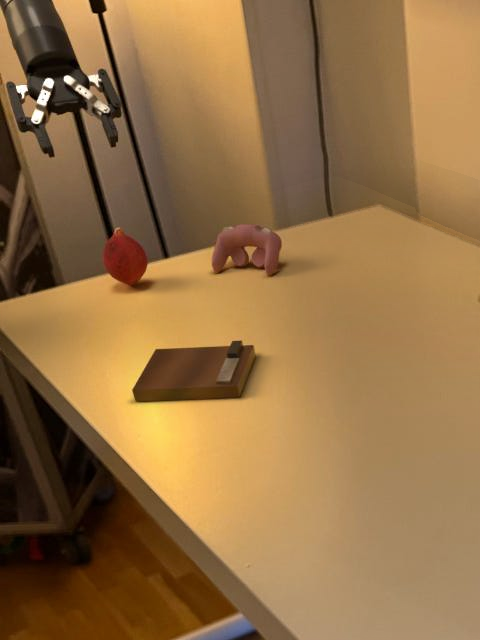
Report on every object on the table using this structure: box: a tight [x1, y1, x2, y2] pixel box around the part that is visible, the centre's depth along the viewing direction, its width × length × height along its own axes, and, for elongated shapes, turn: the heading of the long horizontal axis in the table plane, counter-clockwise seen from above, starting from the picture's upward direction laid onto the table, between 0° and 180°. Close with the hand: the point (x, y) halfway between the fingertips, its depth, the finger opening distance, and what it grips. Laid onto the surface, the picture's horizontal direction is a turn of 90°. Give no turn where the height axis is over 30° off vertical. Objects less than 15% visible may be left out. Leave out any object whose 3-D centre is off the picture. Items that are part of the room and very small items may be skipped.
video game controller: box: [211, 223, 283, 276], centre depth 142 cm, size 10×5×7 cm, turn 76°
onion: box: [102, 227, 149, 287], centre depth 137 cm, size 6×6×8 cm
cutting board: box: [131, 340, 257, 403], centre depth 115 cm, size 12×11×2 cm
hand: (83, 148), depth 138 cm, fingers open, 8 cm apart
